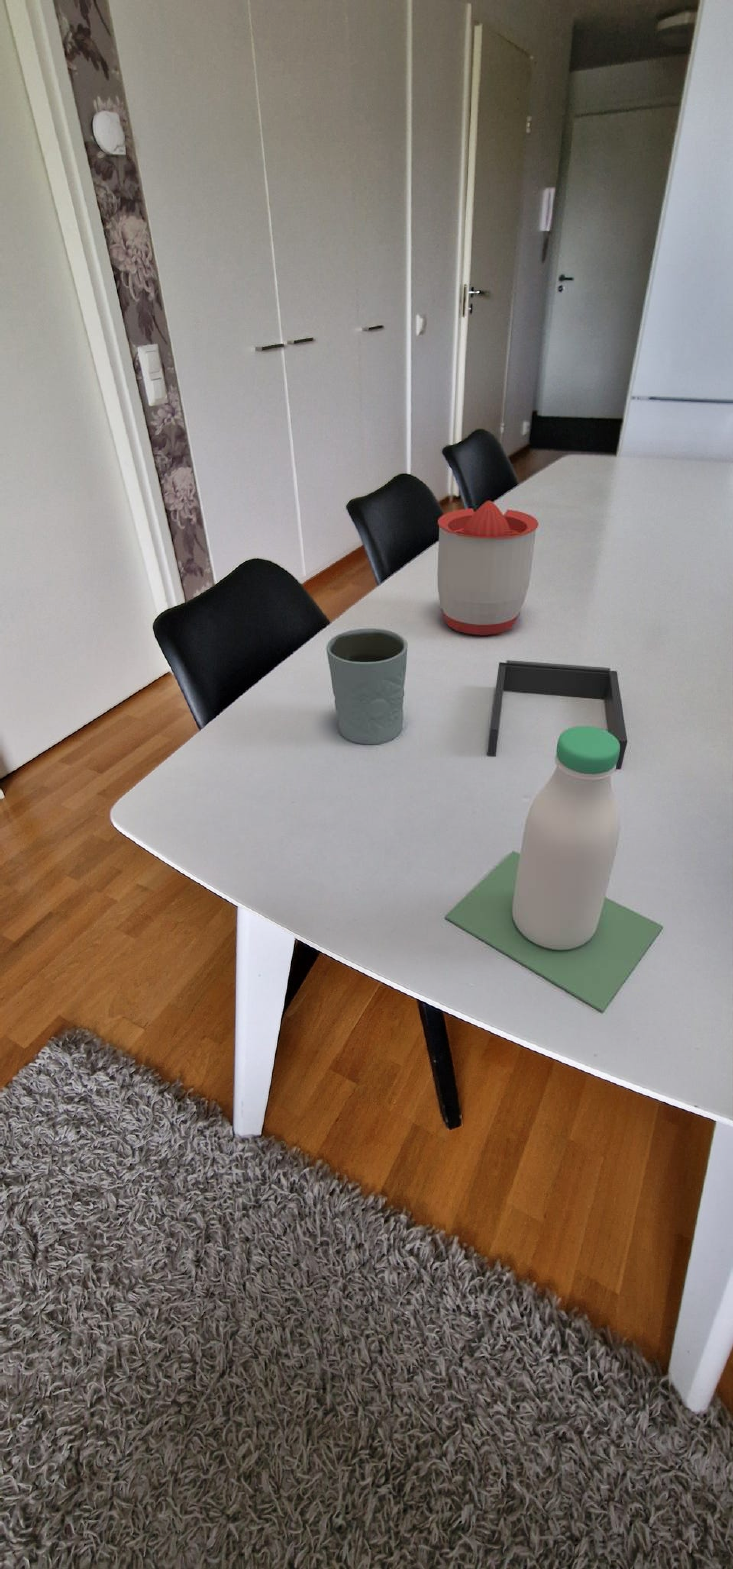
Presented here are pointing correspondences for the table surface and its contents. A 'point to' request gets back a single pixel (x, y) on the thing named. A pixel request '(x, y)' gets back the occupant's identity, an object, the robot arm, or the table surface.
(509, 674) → the dark grey u-shaped frame
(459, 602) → the citrus juicer
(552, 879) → the milk bottle
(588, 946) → the mat
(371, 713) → the grey-green cup
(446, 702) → the table surface
